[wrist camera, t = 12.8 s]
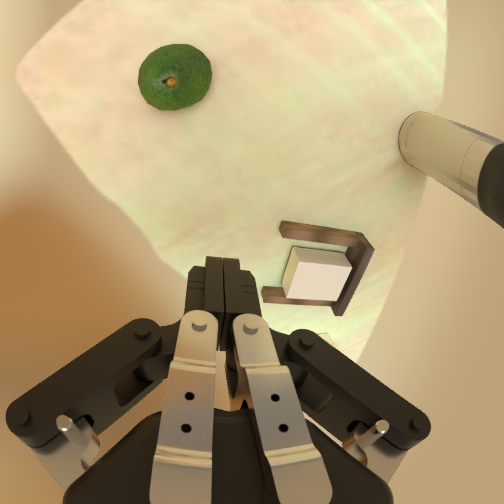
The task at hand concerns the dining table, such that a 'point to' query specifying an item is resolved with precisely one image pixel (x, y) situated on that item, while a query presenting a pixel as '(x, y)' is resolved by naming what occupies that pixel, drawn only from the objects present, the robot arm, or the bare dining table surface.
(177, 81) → the avocado
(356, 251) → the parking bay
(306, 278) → the white rectangular block
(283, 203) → the dining table surface
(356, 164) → the dining table surface
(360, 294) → the dining table surface
